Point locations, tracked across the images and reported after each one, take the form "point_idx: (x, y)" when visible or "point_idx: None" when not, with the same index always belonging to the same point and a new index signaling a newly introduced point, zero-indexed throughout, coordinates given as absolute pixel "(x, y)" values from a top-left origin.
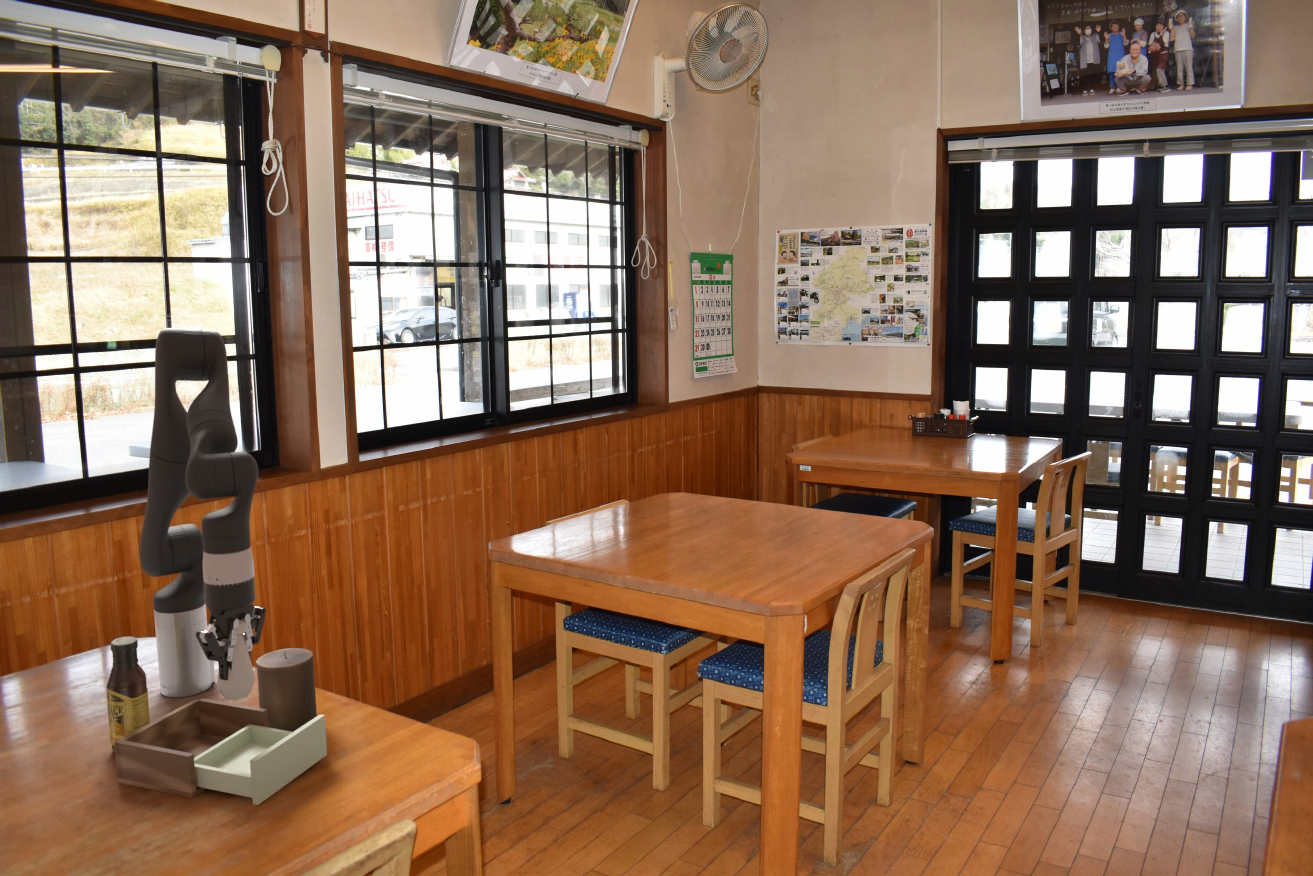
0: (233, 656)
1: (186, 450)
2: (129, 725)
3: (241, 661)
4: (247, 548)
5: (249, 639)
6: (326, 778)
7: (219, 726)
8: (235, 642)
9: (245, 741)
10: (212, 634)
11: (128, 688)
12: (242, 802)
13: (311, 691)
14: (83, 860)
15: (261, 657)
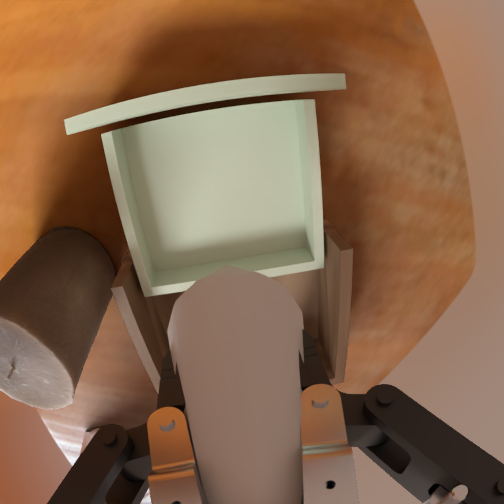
0: (299, 402)
1: None
2: None
3: (260, 365)
4: None
5: (165, 463)
6: (160, 54)
7: (163, 345)
8: (311, 467)
9: (168, 272)
10: (497, 496)
11: None
12: None
13: (14, 267)
14: (466, 212)
15: (54, 406)
